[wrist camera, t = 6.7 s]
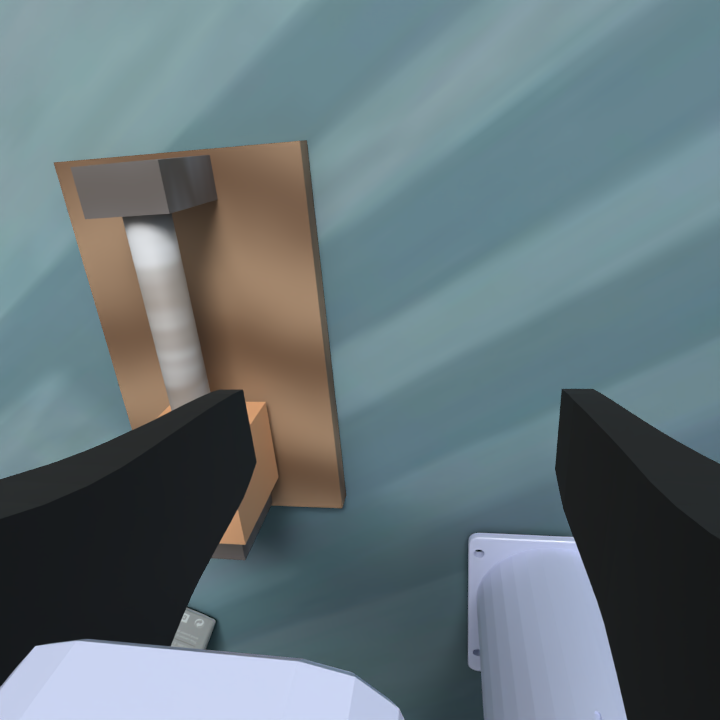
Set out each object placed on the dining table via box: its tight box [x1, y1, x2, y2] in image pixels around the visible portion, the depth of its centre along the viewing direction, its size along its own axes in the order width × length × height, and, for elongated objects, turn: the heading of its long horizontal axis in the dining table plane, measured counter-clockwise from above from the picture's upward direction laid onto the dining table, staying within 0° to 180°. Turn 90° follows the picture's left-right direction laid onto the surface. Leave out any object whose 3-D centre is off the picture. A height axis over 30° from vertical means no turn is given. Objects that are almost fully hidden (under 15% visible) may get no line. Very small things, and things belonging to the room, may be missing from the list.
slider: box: [156, 402, 278, 545], centre depth 22 cm, size 4×4×4 cm
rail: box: [54, 141, 346, 560], centre depth 21 cm, size 16×10×5 cm, turn 5°
